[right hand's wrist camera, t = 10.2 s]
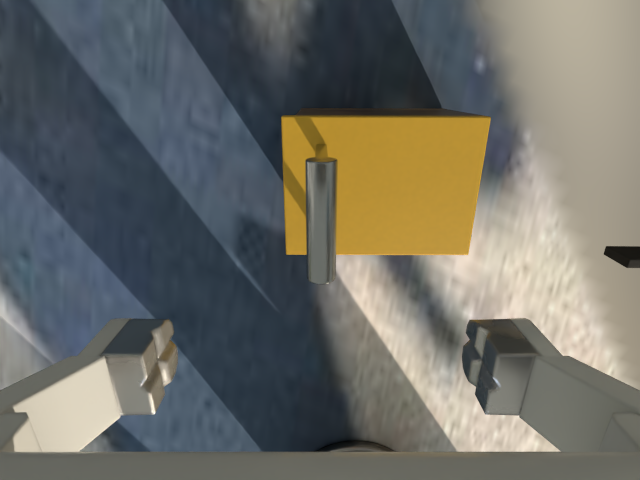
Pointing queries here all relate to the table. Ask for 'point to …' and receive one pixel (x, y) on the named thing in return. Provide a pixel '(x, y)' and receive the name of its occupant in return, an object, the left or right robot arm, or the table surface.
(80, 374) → the right robot arm
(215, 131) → the table surface
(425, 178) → the lid
